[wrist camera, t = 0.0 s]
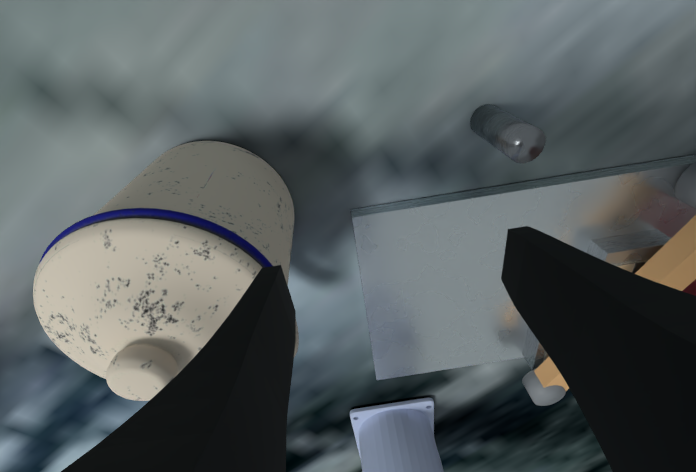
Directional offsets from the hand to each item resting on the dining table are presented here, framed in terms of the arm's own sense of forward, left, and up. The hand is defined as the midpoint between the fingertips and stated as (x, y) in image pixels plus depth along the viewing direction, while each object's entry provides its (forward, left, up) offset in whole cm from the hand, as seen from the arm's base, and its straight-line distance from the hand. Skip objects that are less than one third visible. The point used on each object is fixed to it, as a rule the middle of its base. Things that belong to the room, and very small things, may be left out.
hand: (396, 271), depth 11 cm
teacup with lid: (-3, +8, -10) cm, 13 cm away
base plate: (-9, -10, -10) cm, 17 cm away
